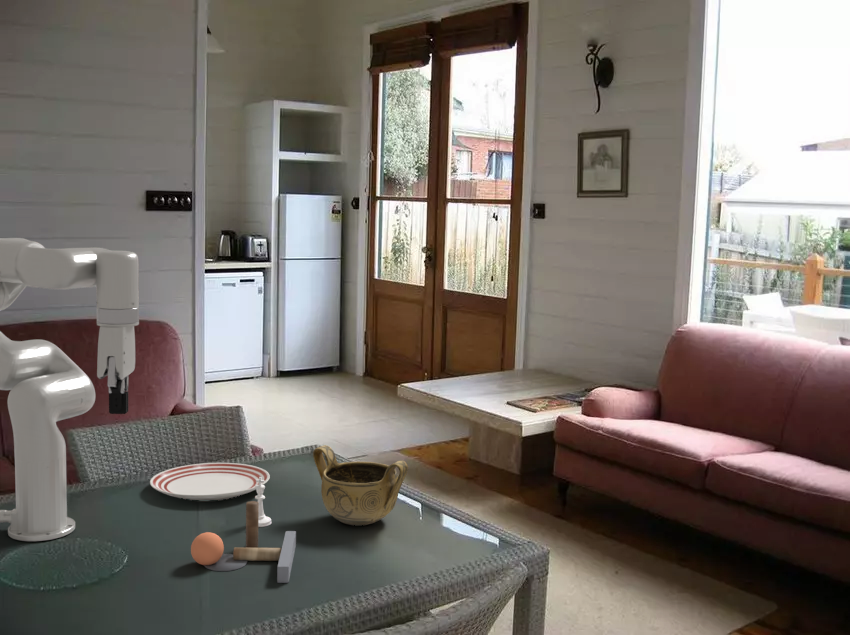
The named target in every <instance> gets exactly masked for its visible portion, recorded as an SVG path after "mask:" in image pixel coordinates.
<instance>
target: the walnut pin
mask: <svg viewBox="0 0 850 635" xmlns="http://www.w3.org/2000/svg"><path fill="white" fill-rule="evenodd" d="M258 516H259V503H258V501H255V500H252V501H246V504H245V548H259V527H258Z"/></svg>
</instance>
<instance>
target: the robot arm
mask: <svg viewBox="0 0 850 635" xmlns="http://www.w3.org/2000/svg"><path fill="white" fill-rule="evenodd" d="M139 263H140V262H139V257H138V254H137V253H136V252H134V251H129V250H110V249H108V248H105V247H99V246H98V247H94V246H93V247H69V248H46V247H45V246H44V245H43V244H41V243H40V242H37V241H34V240H29V239H27V238H23V237H0V312H2V311H4V310H6V309H7V308H9V307H10V306H11V305H12V304H13V303H14V302H15V301H16V300H17V298H18V297H19V296H20V295H21V294H22V293H23V291H24V290H25V289H26V288H27V287H29V288H37V289H46V290H72V289H82V288H83V289H85V288H96V291H95V292H96V326H99V330H98V342H97V359H96V360H97V364H96V365H97V367H96V368H97V369H96V377H97V378H98V380H102V379H104V378H105V377H107V387H108V413H109V414H110V415H126V414H127V413H128V412H129V379H130V378H129V375H130V374H131V373H133V372H134V371H135V368H136V335H135V334H136V333H135V327H136V326H139V325H140V303H139V302H140V299H139V296H140V292H139V290H140V289H139V287H140V286H139V285H140V284H139V283H140V282H139V280H140V279H139V278H140V277H139V273H140V272H139V271H140V269H139ZM0 391H9V394H8V396H7V409H8V414H9V418H10V422H11V427H12V433H13V434H12V435H13V446H14V449H13V452H14V478H15V479H14V481H15V482H14V483H15V508H13V509H12V510H7V509H0V523H5V524H6V523H9V524H10V525H9V526H8V527H7V534H8V537H10V538H11V539H13V540H16V541H21V542H42V541H50V540H55V539H58V538H62V537H65V536H67V535H69V534H71V533H72V532H74V530H75V529H76V521H75V520H74V519H73V518H71V517H69V516H68V505H67V504H68V503H67V502H68V499H67V498H68V497H67V496H68V495H67V446H66V445H67V444H66V440H65V438H64V436H63V434H62V432H61V431H60V429H59V427H58V425H57V422H60V421H62V420H66V419H72V418H74V417H78V416H81V415H83V414H85V413H87V412H88V411H90V410H91V409H92V408H93V406H94V405H95V401H96V390H95V385H94V384H93V381H92V380H91V378H90V377H89V376H88V374H86V373H85V372H84V371H83V369H82V368H80V367H79V365H77V364H76V362H74V361H73V360H72V359H71V358H70V357H69V356H68V355H67V354H66V353H65V352H64V351H63V350H62V349H61V348H59V347H58V345H56V344H54V343H53V342H51V341H49V340H45V339H41V338H40V339H36V338H35V339H28V340H22V341H21V340H11V339H10V338H9V337H7V336H6V335H5V334H4V333H3V332H2V331H1V330H0Z"/></svg>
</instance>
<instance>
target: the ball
mask: <svg viewBox="0 0 850 635" xmlns="http://www.w3.org/2000/svg"><path fill="white" fill-rule="evenodd" d="M224 546H225V545H224V542H223V539H222V538H221V537H220V536H219V535H217V533H214V532H209V531H206V532H203V533H200V534H199V535H197V536H195V537H194V539H193V541H192V542H191V545H190V554H191V556H192V559H193V560H194V561H195V562H196V563H197V564H199V565H202V566H204V565H212V564H214V563H216V562H217V561H218V560H219V559H220V558H221V556H222V554H224V550H225V547H224Z"/></svg>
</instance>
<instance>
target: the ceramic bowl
mask: <svg viewBox="0 0 850 635" xmlns="http://www.w3.org/2000/svg"><path fill="white" fill-rule="evenodd" d="M312 458H313V460H314V463H315V466H316V469H317V471H318V474H319V477H320V480H321V498H322V501H323V505H324V507H325V509H326V510H327V512H328V513H329V514H330V515H331V516H332V517H333V518H334V519H335V520H337V521H339V522H341V523H343V524H346V525H350V526H354V525H355V526H357V527H359V526H360V527H361V526H362V525H363V526H367V525H371V524H374V523H376V522H378V521H380V520H382V519H384V518H385V517H386V516H387V515H389V514H390V513H391V511H392V510H393V509H394V508H395V506H396V504H397V502H398V497H399V493H400V490H401V487H402V485H403V483H404V480H405V478H406V476H407V474H408V471H409V465H408V464H407V462H406V461H405V460H402V459H400V460H397V461H396V462H394V463H392V464H384V463H380V462H375V461H345V462H340V463H339V462H338V461H337V456H336V454H335V452H334V450H333V448H332V447H331V446H330V445H327V444H323V445H321V446H318V447H316V448H315V449H313V451H312ZM396 468H397V469H398V470H399V474H398V470H397V469H396Z"/></svg>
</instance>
